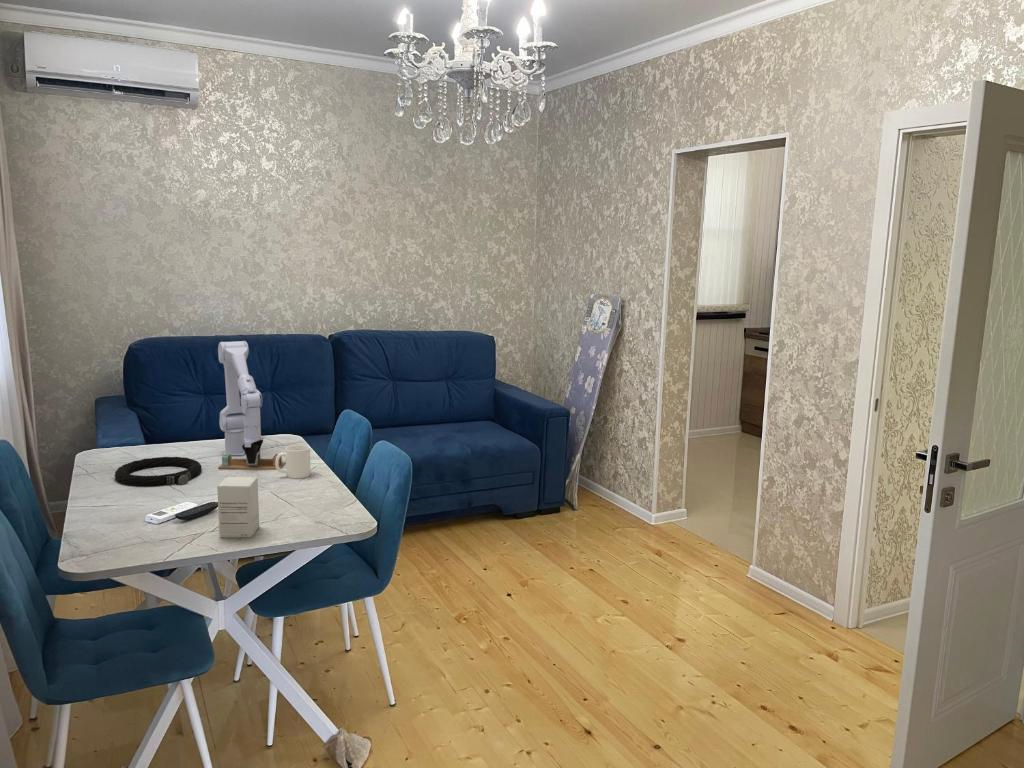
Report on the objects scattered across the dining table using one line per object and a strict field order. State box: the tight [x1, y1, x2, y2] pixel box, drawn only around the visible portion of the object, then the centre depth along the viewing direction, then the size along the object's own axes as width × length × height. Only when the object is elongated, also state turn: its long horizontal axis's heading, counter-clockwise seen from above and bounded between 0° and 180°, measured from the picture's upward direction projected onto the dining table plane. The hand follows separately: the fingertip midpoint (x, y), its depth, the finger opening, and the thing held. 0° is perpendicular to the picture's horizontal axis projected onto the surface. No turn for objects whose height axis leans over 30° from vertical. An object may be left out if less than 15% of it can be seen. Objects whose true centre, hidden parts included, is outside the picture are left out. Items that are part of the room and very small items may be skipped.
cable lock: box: [114, 456, 203, 487], centre depth 261 cm, size 28×4×30 cm
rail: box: [217, 453, 286, 471], centre depth 275 cm, size 8×22×4 cm, turn 95°
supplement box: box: [216, 476, 260, 538], centre depth 210 cm, size 9×9×15 cm
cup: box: [275, 444, 311, 480], centre depth 264 cm, size 8×12×10 cm
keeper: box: [245, 449, 262, 466], centre depth 275 cm, size 4×4×5 cm
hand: (253, 461), depth 275 cm, fingers closed on keeper, 4 cm apart
